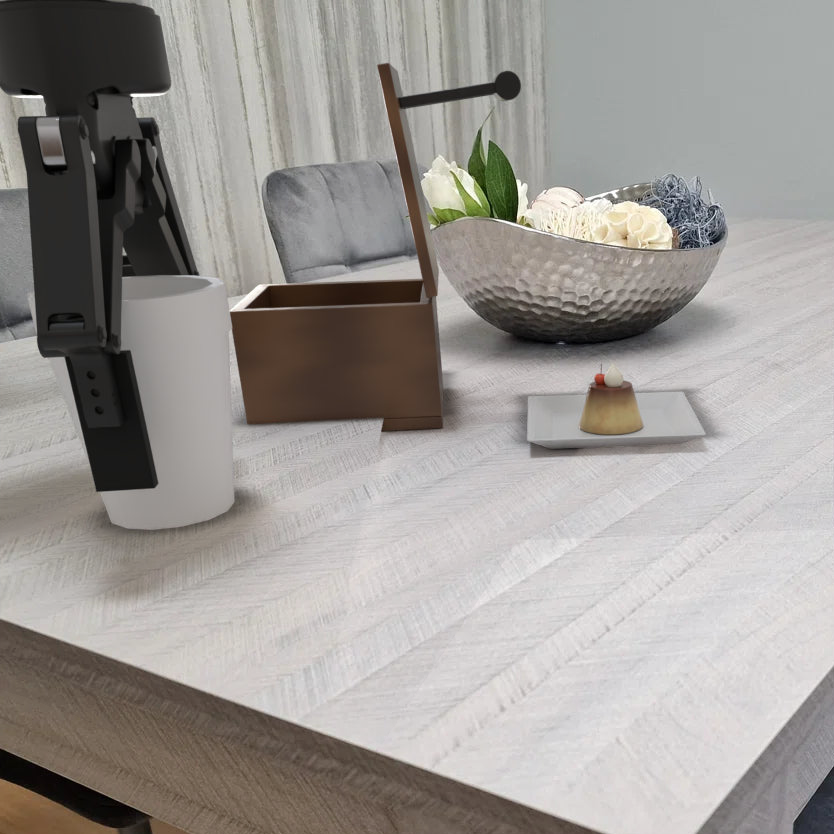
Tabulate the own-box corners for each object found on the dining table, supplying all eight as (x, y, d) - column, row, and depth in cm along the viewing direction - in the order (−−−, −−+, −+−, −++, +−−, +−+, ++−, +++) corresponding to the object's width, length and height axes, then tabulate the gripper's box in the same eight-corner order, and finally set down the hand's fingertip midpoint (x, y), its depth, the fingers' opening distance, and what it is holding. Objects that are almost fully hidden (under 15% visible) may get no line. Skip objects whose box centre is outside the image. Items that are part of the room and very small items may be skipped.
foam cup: (290, 501, 62) (256, 275, 57) (211, 561, 54) (163, 304, 48) (145, 495, 64) (98, 274, 58) (47, 552, 55) (-18, 302, 50)
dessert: (528, 410, 80) (525, 347, 78) (682, 405, 81) (683, 343, 79) (527, 456, 70) (524, 385, 68) (705, 450, 70) (707, 379, 68)
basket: (249, 438, 75) (228, 311, 71) (275, 395, 86) (259, 284, 82) (442, 428, 76) (432, 303, 73) (443, 387, 88) (434, 278, 84)
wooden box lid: (376, 64, 66) (517, 42, 66) (386, 72, 77) (507, 53, 78) (426, 298, 72) (555, 276, 73) (429, 273, 84) (540, 254, 84)
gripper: (66, -38, 37) (180, 522, 46) (210, 24, 60) (268, 392, 68) (-160, -36, 36) (1, 534, 45) (73, 26, 59) (149, 398, 68)
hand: (162, 449), depth 57 cm, fingers open, 13 cm apart
